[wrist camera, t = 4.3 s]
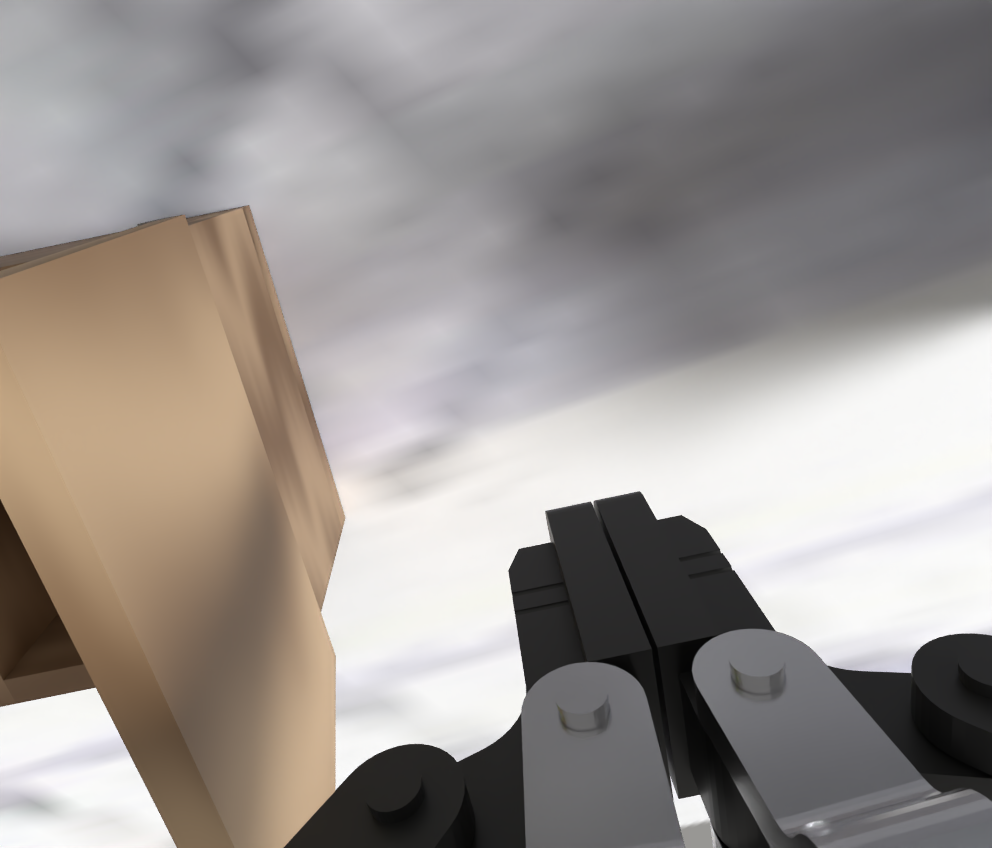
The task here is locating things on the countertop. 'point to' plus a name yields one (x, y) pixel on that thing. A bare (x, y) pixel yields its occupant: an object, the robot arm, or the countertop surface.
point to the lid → (166, 534)
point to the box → (280, 421)
